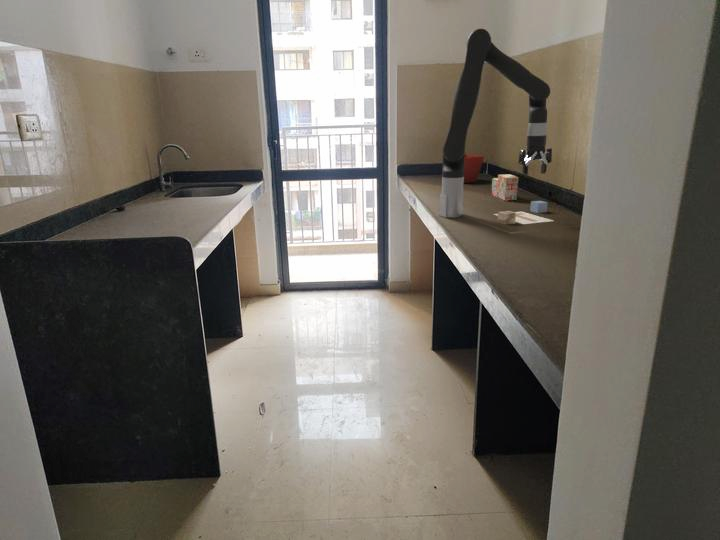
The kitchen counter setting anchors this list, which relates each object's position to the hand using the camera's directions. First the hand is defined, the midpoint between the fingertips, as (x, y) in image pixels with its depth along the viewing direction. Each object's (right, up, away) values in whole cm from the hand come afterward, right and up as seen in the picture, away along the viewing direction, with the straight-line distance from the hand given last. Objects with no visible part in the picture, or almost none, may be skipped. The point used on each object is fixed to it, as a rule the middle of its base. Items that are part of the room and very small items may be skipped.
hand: (534, 174), depth 205 cm
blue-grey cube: (+6, -15, +13) cm, 21 cm away
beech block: (-14, -22, -8) cm, 27 cm away
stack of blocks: (+3, -2, +53) cm, 53 cm away
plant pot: (-6, +17, +115) cm, 116 cm away
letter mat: (-5, -19, +1) cm, 19 cm away
